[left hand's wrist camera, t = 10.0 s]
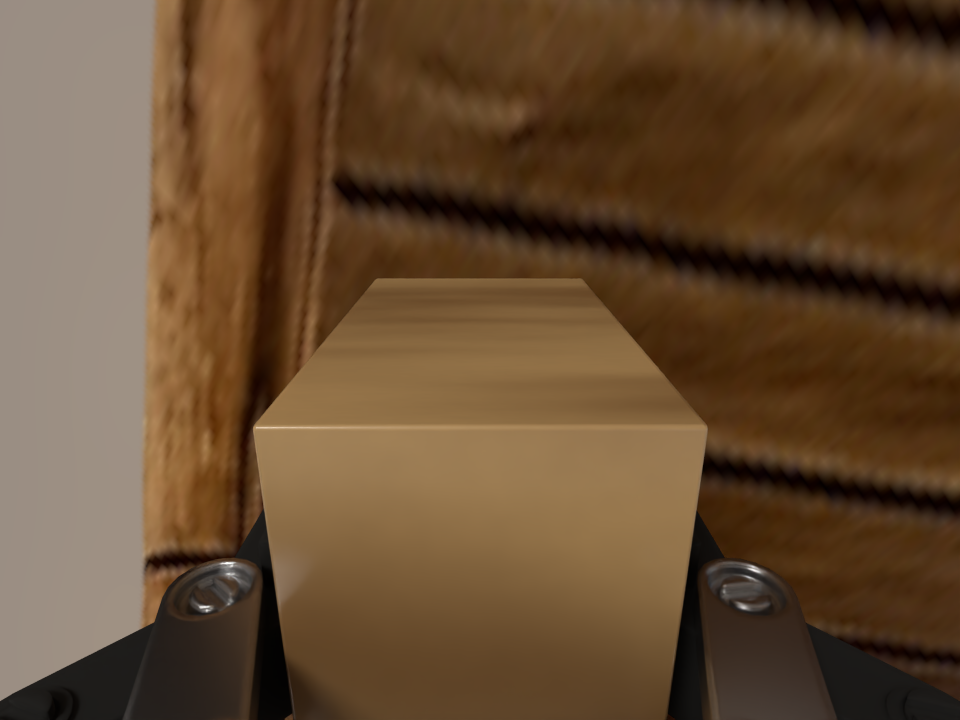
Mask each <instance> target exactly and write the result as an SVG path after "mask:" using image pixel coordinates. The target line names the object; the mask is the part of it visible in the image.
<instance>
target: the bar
mask: <svg viewBox="0 0 960 720" xmlns="http://www.w3.org/2000/svg"><path fill="white" fill-rule="evenodd" d="M707 431H708V428H707V425H706V424H705V422H704V421H703V420H702V419H701V418H700V417H699V415H698V414H697V413H696V412H695V411H694V410H693V408H692V407H691V406H690V405H689V404H688V402H687V401H686V400H685V399H684V398H683V397H682V395H681V394H680V393H679V392H678V391H677V390H676V388H675V387H674V386H673V385H672V384H671V383H670V381H669V380H668V379H667V378H666V377H665V376H664V374H663V373H662V372H661V371H660V370H659V368H658V367H657V366H656V365H655V364H654V363H653V361H652V360H651V359H650V358H649V357H648V356H647V354H646V353H645V352H644V351H643V350H642V349H641V347H640V346H639V345H638V344H637V343H636V341H635V340H634V339H633V338H632V337H631V336H630V334H629V333H628V332H627V331H626V330H625V329H624V327H623V326H622V325H621V324H620V323H619V322H618V320H617V319H616V318H615V317H614V316H613V314H612V313H611V312H610V311H609V310H608V309H607V307H606V306H605V305H604V304H603V303H602V302H601V300H600V299H599V298H598V297H597V296H596V295H595V293H594V292H593V291H592V290H591V289H590V288H589V286H588V285H587V284H586V283H585V282H584V280H583V279H376V280H375V281H374V282H373V283H372V285H371V286H370V287H369V288H368V289H367V291H366V292H365V293H364V294H363V295H362V297H361V298H360V299H359V300H358V301H357V303H356V304H355V305H354V306H353V307H352V309H351V310H350V311H349V312H348V313H347V315H346V316H345V317H344V318H343V319H342V321H341V322H340V323H339V324H338V325H337V327H336V328H335V329H334V330H333V331H332V333H331V334H330V335H329V336H328V337H327V339H326V340H325V341H324V342H323V343H322V345H321V346H320V347H319V348H318V349H317V351H316V352H315V353H314V354H313V355H312V357H311V358H310V359H309V360H308V361H307V363H306V364H305V365H304V366H303V367H302V369H301V370H300V371H299V372H298V373H297V375H296V376H295V377H294V378H293V379H292V381H291V382H290V383H289V384H288V385H287V387H286V388H285V389H284V390H283V391H282V393H281V394H280V395H279V396H278V397H277V399H276V400H275V401H274V402H273V403H272V405H271V406H270V407H269V408H268V409H267V411H266V412H265V413H264V414H263V415H262V417H261V418H260V419H259V420H258V421H257V423H256V424H255V425H254V427H253V433H254V440H255V447H256V454H257V461H258V468H259V476H260V483H261V490H262V497H263V504H264V512H265V519H266V526H267V533H268V540H269V547H270V555H271V562H272V569H273V576H274V583H275V590H276V598H277V605H278V612H279V619H280V626H281V634H282V641H283V648H284V655H285V662H286V669H287V677H288V684H289V691H290V698H291V705H292V713H293V720H667V714H668V707H669V700H670V693H671V685H672V678H673V671H674V664H675V657H676V650H677V643H678V636H679V629H680V622H681V615H682V608H683V601H684V594H685V587H686V580H687V573H688V566H689V558H690V551H691V544H692V537H693V530H694V523H695V516H696V509H697V502H698V495H699V488H700V481H701V474H702V467H703V460H704V453H705V446H706V439H707Z"/></svg>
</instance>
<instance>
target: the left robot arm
mask: <svg viewBox="0 0 960 720" xmlns="http://www.w3.org/2000/svg"><path fill="white" fill-rule="evenodd" d="M290 714H292V705H291V698H290V691H289V684H288V677H287V669H286V662H285V655H284V648H283V641H282V634H281V626H280V619H279V612H278V605H277V598H276V590H275V583H274V576H273V569H272V562H271V555H270V547H269V540H268V533H267V526H266V519H265V512H264V509H263V511H262V513H261V514H260V516H259V518H258V519H257V521H256V523H255V524H254V526H253V528H252V529H251V531H250V533H249V534H248V536H247V538H246V540H245V541H244V543H243V545H242V546H241V548H240V550H239V551H238V553H237V555H236V556H235V558H224V559H217V560H213V561H209V562H205V563H203V564H201V565H198V566H196V567H194V568H191V569H190V570H188V571H187V572H185V573H184V574H182V575H181V576H179V577H178V578H177V579H176V580H175V581H174V582H173V583H172V584H171V585H170V586H169V587H168V588H167V590H166V592H165V594H164V596H163V598H162V601H161V604H160V607H159V610H158V613H157V616H156V619H155V622H154V623H152V624H150V625H148V626H146V627H144V628H142V629H140V630H138V631H136V632H134V633H132V634H130V635H128V636H126V637H124V638H122V639H120V640H118V641H116V642H114V643H112V644H110V645H108V646H106V647H104V648H102V649H101V650H98V651H97V652H95V653H93V654H91V655H89V656H87V657H85V658H83V659H81V660H79V661H77V662H75V663H73V664H71V665H69V666H67V667H65V668H63V669H61V670H59V671H57V672H55V673H53V674H51V675H49V676H47V677H45V678H43V679H41V680H39V681H37V682H35V683H33V684H31V685H29V686H27V687H25V688H23V689H21V690H19V691H17V692H15V693H13V694H12V695H10V696H8V697H7V698H5V699H3V700H1V701H0V720H285V718H286V717H287V716H289V715H290ZM668 714H669V715H670V716H672V717H673V718H675V720H960V701H958V700H956V699H955V698H953V697H951V696H950V695H948V694H946V693H945V692H943V691H941V690H939V689H937V688H935V687H933V686H931V685H929V684H927V683H925V682H923V681H921V680H919V679H917V678H915V677H913V676H911V675H909V674H907V673H905V672H903V671H901V670H899V669H897V668H895V667H893V666H891V665H889V664H887V663H885V662H883V661H881V660H879V659H877V658H875V657H873V656H871V655H869V654H867V653H865V652H863V651H861V650H859V649H857V648H855V647H853V646H851V645H849V644H847V643H845V642H843V641H841V640H839V639H837V638H835V637H833V636H831V635H829V634H827V633H825V632H823V631H821V630H819V629H817V628H815V627H813V626H811V625H809V624H807V623H806V622H805V619H804V616H803V613H802V610H801V607H800V604H799V601H798V598H797V596H796V594H795V592H794V590H793V588H792V587H791V586H790V585H789V584H788V583H787V582H786V581H785V580H784V579H783V578H782V577H781V576H779V575H778V574H776V573H775V572H773V571H772V570H770V569H769V568H766V567H764V566H762V565H759V564H757V563H755V562H751V561H747V560H743V559H736V558H724V556H723V554H722V553H721V551H720V549H719V547H718V546H717V544H716V542H715V541H714V539H713V537H712V536H711V534H710V532H709V531H708V529H707V527H706V526H705V524H704V522H703V520H702V519H701V517H700V515H699V514H698V512H697V510H696V516H695V523H694V530H693V537H692V544H691V551H690V558H689V566H688V573H687V580H686V587H685V594H684V601H683V608H682V615H681V622H680V629H679V636H678V643H677V650H676V657H675V664H674V671H673V678H672V685H671V693H670V700H669V707H668Z"/></svg>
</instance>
